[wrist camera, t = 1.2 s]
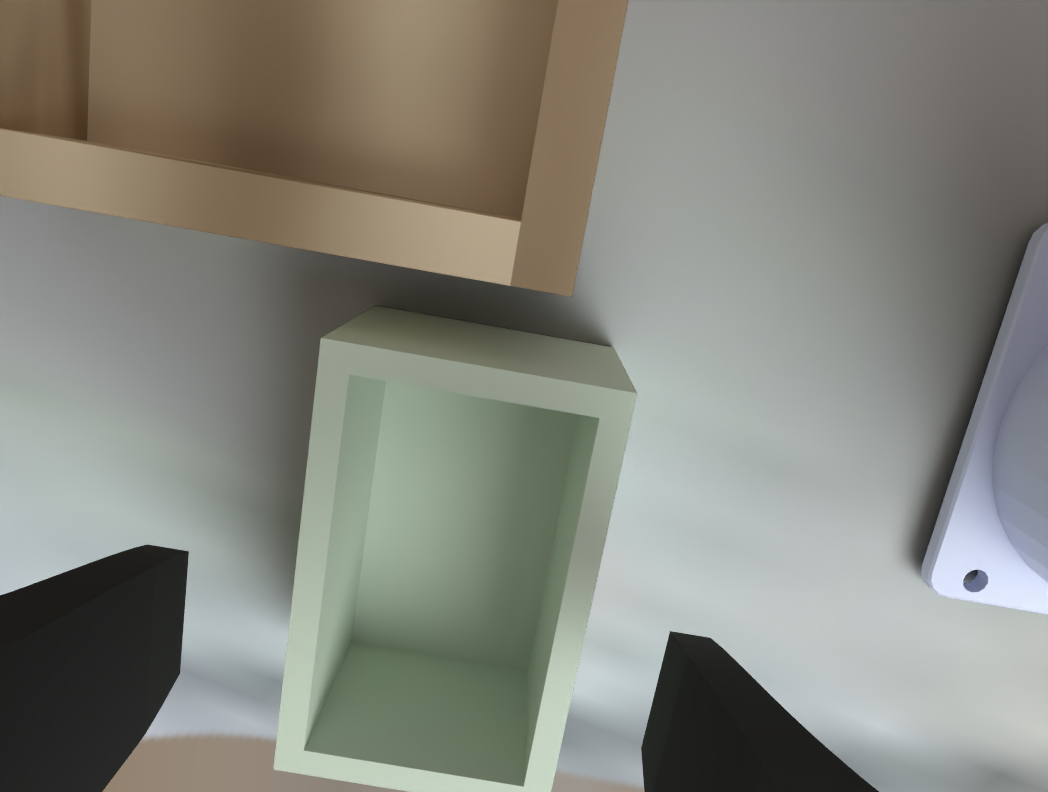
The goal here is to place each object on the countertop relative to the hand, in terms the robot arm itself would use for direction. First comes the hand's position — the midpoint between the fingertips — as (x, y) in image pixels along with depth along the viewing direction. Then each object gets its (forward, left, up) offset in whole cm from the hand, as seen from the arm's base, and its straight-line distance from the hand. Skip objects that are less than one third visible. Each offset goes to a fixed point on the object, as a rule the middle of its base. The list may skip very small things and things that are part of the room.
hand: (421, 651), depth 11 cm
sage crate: (0, 0, -6) cm, 6 cm away
